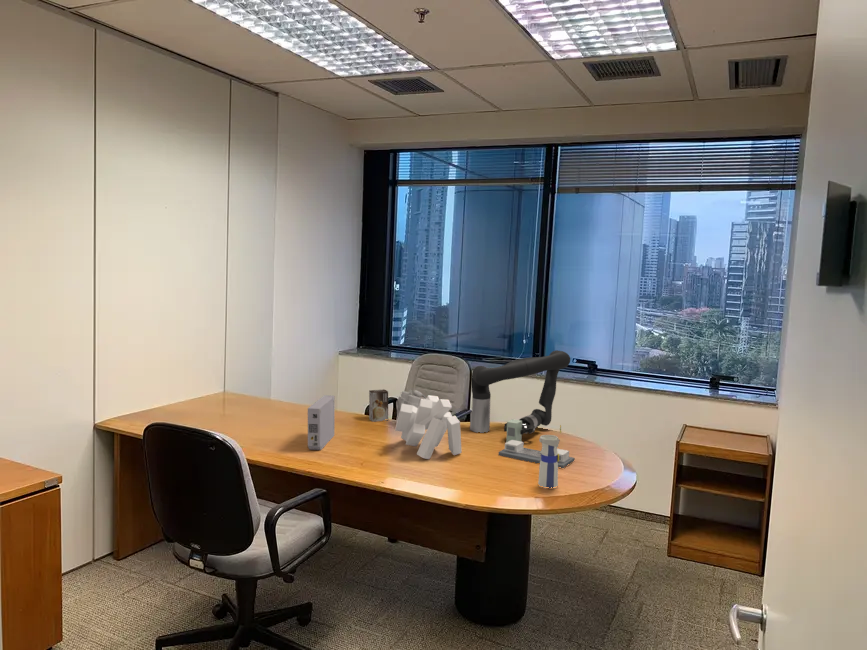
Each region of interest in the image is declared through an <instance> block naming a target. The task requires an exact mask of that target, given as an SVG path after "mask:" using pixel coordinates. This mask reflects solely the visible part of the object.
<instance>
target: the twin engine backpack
mask: <svg viewBox="0 0 867 650" xmlns="http://www.w3.org/2000/svg"><path fill="white" fill-rule="evenodd" d="M421 397H423V399H426V398H427V396H426V395H425V394H423V393H422V392H421V391H419V390H417V389H414V390H413V389H409V391H406V390H404V391H401V392H400V396H398V399H397V400H396V404H395V406H396V422H397V419H398V416H399V412H400V408H401V405H402V404H407V405H413V406H415V407H417V408H418V407H419V403H420V400H421Z"/></svg>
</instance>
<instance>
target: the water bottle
mask: <svg viewBox="0 0 867 650" xmlns="http://www.w3.org/2000/svg"><path fill="white" fill-rule="evenodd" d="M559 433H560V434H561V433H562V425H561V424H560V425H559ZM538 440H539V443H541V450H539V451H540V453H541V461H540V464H539V472H538V482H537V483H538V484H539V485H540V486H543V487H549V488H551V487H552V488H553V487H556V486H559V480H558V479H559V468H558V461H559V453H558V451H557V449H558V448H559V445H560V441H561V440H560V439H559V437H558V436H557V435H554V434H542V435H540V436H539V439H538ZM538 484H537V485H538ZM540 486H539V487H540Z"/></svg>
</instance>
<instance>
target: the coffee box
mask: <svg viewBox="0 0 867 650" xmlns="http://www.w3.org/2000/svg"><path fill="white" fill-rule="evenodd" d="M368 394H369V395H368V397H369V406H368V407H369V409H368V411H369V412H368V414H369V417H368V418H369V421H371V422H373V423H374V422H383V420H384V421H385V419H388V420H389V391H388V390H386V389H384V388H383V389H373V390H369V392H368Z"/></svg>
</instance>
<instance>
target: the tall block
mask: <svg viewBox="0 0 867 650" xmlns="http://www.w3.org/2000/svg"><path fill="white" fill-rule="evenodd" d="M506 423H507V431H506V438H505V439H506V441H505V443H506V442H508V441H510V440H516V441H521V442H522V436H523V434H522V435H521V434H520V431H521V430H522V421H520V420H519V419H515V418H513V419H512V418H511V419H510V420H508V421H506Z"/></svg>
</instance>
